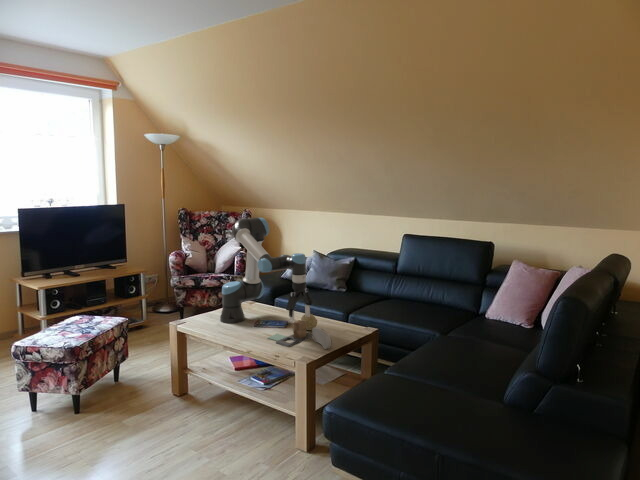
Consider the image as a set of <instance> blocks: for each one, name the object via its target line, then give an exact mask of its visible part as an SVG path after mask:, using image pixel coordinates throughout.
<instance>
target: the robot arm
mask: <svg viewBox="0 0 640 480" xmlns="http://www.w3.org/2000/svg"><path fill="white" fill-rule="evenodd" d="M231 230H232V231H231V232H232V236H233V239H235V240H236V242H238V243H241V245H242V246H243V247H244V248H245V249H246V250H247V251H246V261H245V262H246V263H245V276H244V277H242V282H240V281H239V280H238V281H237V280H235V281H229V282H225V284H224V283H223V285H222V287H221V297H222V301H221V302H222V309H221V313H220V316H219V321H220V322H221V323H227V324H233V323H234V324H235V323H239V322H240V323H241V322H243V321H245V317H246V315H245V314H244V311H243V306H242V303H243V302H248V301H253V300H257V299H260V298H261V297H262V296H263V295H264V292H265V286H264V283H263V281H262V280H261V278H260V273H271V272H276V271H282V270H283V271H284V270H291V280H292V281H291V282H292V286H291V287H292V289H293V292H292V291H290V292H289V298H288V301H287V304H286V311H288V316H289V323H292V324H293V323H294V322H295V310H294V309H295V307H296V305H297V302H298V301H299V300H300V299H302V300H303V302H304V303H305V304H304V309H305V310H304V315H305V316H307V317H310V314H311V306H312V305H313V300H312V296H311V294H310V289H309V287H308V288H307V282H306V281H307V279H306V278H307V272H306V271H307V269H306V268H307V265H306V264H307V260H306V255H305V254H304V253H296V252H295V253H293V254H292V255H289V254H282V255H280V256H273V257H272V256H271V255H270V254H269V253H268V251H266V249H264V247H263V246H262V243H263V242H264V241H265V238H266V236H268V235H269V233H270V226H269V223H268V221H267V219H265V218H264V217H250V218H240V219H238V220H236V222H235V223H234V224H233V225H232V229H231Z"/></svg>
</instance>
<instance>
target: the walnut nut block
mask: <svg viewBox="0 0 640 480" xmlns="http://www.w3.org/2000/svg"><path fill="white" fill-rule="evenodd" d="M292 324H293V325H292V326H293V330H292V331H293V333H292V334H294V337H297V338H303V337H305V336H306V332H307V330H306V322H305V321H301V319H299V320H296V321H294V323H292Z"/></svg>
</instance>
